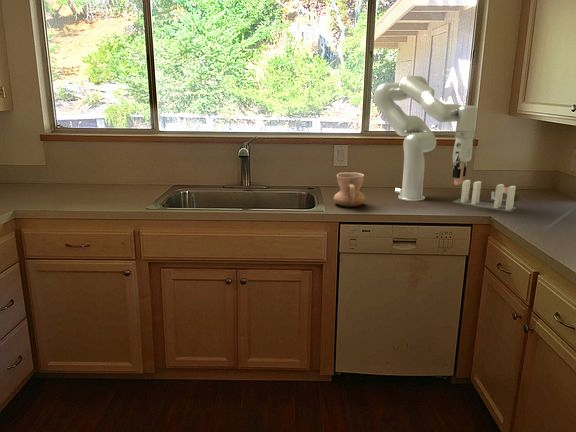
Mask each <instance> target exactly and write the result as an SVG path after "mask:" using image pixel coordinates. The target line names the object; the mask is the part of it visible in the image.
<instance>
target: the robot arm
mask: <svg viewBox="0 0 576 432" xmlns="http://www.w3.org/2000/svg"><path fill="white" fill-rule="evenodd" d="M435 95H436V94H435V89H434V88H433V87H431V86H429V85H428V81H427V80H426V78H425V77H423V76H421V75H405V76H404V77H402V78H401V80H400V81H399V82H384V83H381V84H379V85H378V86H377V88H376V89H375V92H374V102H375V103H374V104H375V106H376V107H377V108H376V109H378V110H379V112H380V113H381V114H382V116H383V117H384V118H385V119H386V121H387V122H388V124H389V125H390V126H391V128H392V129H393V130H394V132H395V133H396V134H397V135H398V136H400V137H404V140H403V142H402V143H403V173H402V184H401V185H402V186H401V188H399V187H395V190H394V192H395V193H398V194H399V195H397V196H398V197H397V198H398V199H399V200H401V201H407V202H409V201H413V202H414V201H418V202H419V201H424V200H426V196H424V195H423V187H424V186H423V185H424V175H425V162H426V161H425V155H424V153H428V152H431V151H433V150H434V149H435V148H436V146H437V138H436V136H435V134H434V132H433V131H432V130H431V129H430V127H429V126H428V125H427V124H426V122H425V121H424V120H423V119H422V118H421V117H419V116H418V115H408V114H407V113H406V112H405V111H404V110H403V109H402V108H401V106H400V105H399V104H397V103H396V102H397V101H405V100H408V99H412V100H413V101H415V103H417V104H418V105H420V107H421V108H422V110H423V111H424V112H425V113H426V114H427V115H428V116H430V117H431V118H432V119H434V120H436V121H438V122H439V123H440V122H441V123H449V122H450V123H451V122H452V123H455V122H456V126H455V134H454V139H455V142H454V146H453V151H452V165H453V166H452V167H453V170H452V178H454V179H455V178H460V174H461V169H460V168H461V164H462V163H464V162H465V165H464V172H463V177H466V173H467V167H468V164H469V163H468V162H470V161H472V156H473V147H474V146H473V144H474V142H473V141H474V137H475V129H476V122H477V117H478V116H477V115H478V107H476V105H461V104H459V103H446V104H445V103H443V102H441V101H440V100H438V99H437V98H436V97H435ZM395 101H396V102H395ZM459 161H460V162H459ZM458 163H459V165H458Z"/></svg>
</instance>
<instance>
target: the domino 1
mask: <svg viewBox="0 0 576 432" xmlns="http://www.w3.org/2000/svg"><path fill="white" fill-rule="evenodd" d="M458 161H459V160H458ZM459 162H460V161H459ZM458 165H459V163H458ZM464 165H465V162H464V163H462V164H461V168H460V169H461V174H460V178H454V180H453V185H455V186H459V185H463V179H464V176H463V172H464Z"/></svg>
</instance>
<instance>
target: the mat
mask: <svg viewBox="0 0 576 432" xmlns="http://www.w3.org/2000/svg"><path fill="white" fill-rule="evenodd" d="M471 202H472V199H468V201H467V202H464V203H463V202H461V197H460V198H458V199H456V200H453V201H452V203H454V204H455V203H456V204H462V205H467V206H468V205H469V206H474V207H480V208H484V209H485V208H487V209H489V210H490V209H491V210H497V211H504V212H508V213H511V212H513V211H514V210H516V209H518V207H515V206H513V208H512V209H510V210H505V207H506V205H503V204H501V207H499V208H494V203H492V202H484V201H479V203H477V204H471Z"/></svg>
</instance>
